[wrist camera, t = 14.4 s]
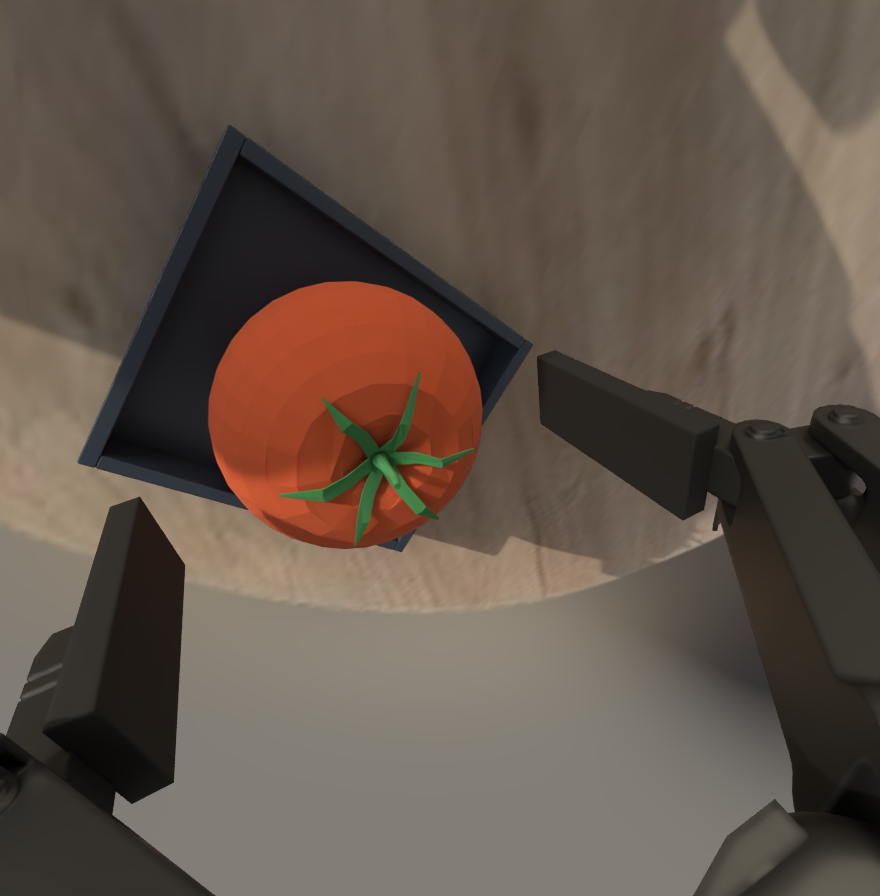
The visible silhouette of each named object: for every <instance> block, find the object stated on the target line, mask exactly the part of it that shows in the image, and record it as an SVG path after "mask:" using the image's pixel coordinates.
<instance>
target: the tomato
mask: <svg viewBox="0 0 880 896" xmlns="http://www.w3.org/2000/svg"><path fill="white" fill-rule="evenodd" d="M482 411H483V409H482V400H481V391H480V386H479V383H478V380H477V377H476V374H475V371H474V368H473V365H472V363H471V360H470V358H469V356H468V354H467V352H466V350H465V349H464V347H463V345H462V344H461V342H460V340H459V338H458V337H457V336H456V335H455V333H454V332H453V331H452V330H451V329H450V328H449V327H448V326H447V325H446V324H445V323H444V321H443V320H442V319H441V318H440V317H438V316H437V315H436V314H435V313H434V312H433V311H431V310H430V309H428V308H427V307H426V306H424V305H423V304H421V303H420V302H418V301H417V300H416V299H414V298H413V297H410V296H408V295H406V294H403V293H401V292H399V291H396V290H394V289H391V288H389V287H385V286H380V285H374V284H369V283H364V282H356V281H345V282H324V283H320V284H316V285H311V286H307V287H303V288H299V289H297V290H295V291H293V292H290V293H288V294H286V295H284V296H282V297H280V298H278V299H276V300H273V301H272V302H271V303H269V304H268V305H267V306H265V307H264V308H263V309H261V310H260V311H259V312H258V313H256V314H255V315H254V316H252V317H251V318H250V319H249V320H248V321H247V322H246V324H245V325H244V326H243V327H242V328H241V329H240V331H239V332H238V333H237V334H236V335H235V337H234V338H233V339H232V340H231V342H230V344H229V346H228V348H227V350H226V352H225V354H224V355H223V357H222V359H221V361H220V363H219V365H218V368H217V370H216V373H215V377H214V381H213V385H212V388H211V392H210V396H209V416H208V427H209V431H210V436H211V441H212V445H213V450H214V454H215V457H216V461H217V463H218V465H219V467H220V470H221V472H222V474H223V476H224V478H225V480H226V482H227V484H228V486H229V487H230V488H231V490H232V491H233V492H234V493H235V494H236V496H237V497H238V498H239V499H240V501H241V502H242V503H243V504H244V505H245V506H246V507H247V508H248V509H249V510H250V511H251V512H252V513H253V514H254V515H255V516H257V517H258V518H259V519H260V520H262V521H263V522H264V523H265V524H267V525H268V526H269V527H270V528H272V529H274V530H276V531H278V532H280V533H282V534H284V535H286V536H288V537H290V538H293V539H296V540H300V541H303V542H307V543H310V544H314V545H317V546H321V547H328V548H339V549H350V548H363V547H369V546H373V545H377V544H382V543H386V542H389V541H391V540H393V539H396V538H398V537H401V536H403V535H406V534H408V533H409V532H411V531H413V530H414V529H416V528H418V527H419V526H421V525H423V524H425V523H426V522H427V521H428V520H429V519H431V518H435V519H439V517H437V516H436V514H437V513H438V512H439V511H441V510H442V509H443V507H444V506H445V505H446V504H447V503H448V502H449V501H450V500H451V499H452V498H453V497H454V495H455V494H456V493H457V491H458V490H459V488H460V487H461V485H462V484H463V482H464V481H465V479H466V478H467V475H468V473H469V471H470V469H471V467H472V465H473V462H474V460H475V457H476V453H477V449H478V446H479V442H480V435H481V424H482Z"/></svg>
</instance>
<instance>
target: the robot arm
mask: <svg viewBox="0 0 880 896" xmlns="http://www.w3.org/2000/svg"><path fill="white" fill-rule="evenodd" d="M537 368H538V386H539V404H540V423H541V424H542V425H544V426H545V427H547V428H548V429H549V430H551V431H552V432H554V433H555V434H557V435H558V436H560V437H561V438H563V439H564V440H566V441H567V442H568V443H570V444H571V445H573V446H574V447H576V448H577V449H579V450H580V451H582V452H583V453H585V454H586V455H588V456H589V457H590V458H592V459H593V460H595V461H596V462H598V463H599V464H601V465H602V466H604V467H605V468H607V469H608V470H609V471H611V472H612V473H614V474H615V475H617V476H618V477H620V478H621V479H623V480H624V481H626V482H627V483H629V484H630V485H631V486H633V487H634V488H636V489H637V490H639V491H640V492H642V493H643V494H645V495H646V496H648V497H649V498H650V499H652V500H653V501H655V502H656V503H658V504H659V505H661V506H662V507H664V508H665V509H667V510H668V511H670V512H671V513H672V514H674V515H675V516H677V517H678V518H680V519H681V520H685V519H687V518H689V517H691V516H693V515H695V514H696V513H698V512H700V511H702V510H704V507H705V501H706V496H707V492H709V493H711V494H712V495H714V496H716V497H717V498H718V503H717V507H716V512H715V517H714V522H713V531H717V529H718V525H719V524H720V523H721V525H722V528H723V532H724V535H725V539H726V542H727V545H728V549H729V552H730V555H731V559H732V562H733V566H734V569H735V572H736V576H737V579H738V582H739V586H740V589H741V592H742V596H743V599H744V603H745V606H746V609H747V613H748V616H749V620H750V623H751V626H752V630H753V633H754V636H755V640H756V643H757V647H758V650H759V653H760V657H761V660H762V663H763V666H764V670H765V673H766V677H767V680H768V683H769V687H770V690H771V694H772V697H773V701H774V704H775V707H776V710H777V714H778V717H779V721H780V724H781V728H782V731H783V734H784V738H785V741H786V744H787V748H788V751H789V754H790V759H791V763H792V771H793V776H792V777H793V778H792V795H793V804H794V809H795V812H793V813H787V812H786V811H785V810H784V808H783V807H782V806H781V805H780V804H779V803H778V802H777V801H776V800H775V799H774V800H773V801H772V802H771V803H769V804H768V805H767V806H765V807H764V808H763V809H761V810H760V811H759V812H757V814H755V815H754V816H752V817H751V818H750V819H749V820H747V821H746V822H745V823H743V824H742V825H741V826H740V827H738V828H737V829H736V830H734V831H733V832H732V833H730V834H729V835H728V836H727V837H726V839H725V841H724V842H723V844H722V846H721V848H720V849H719V851H718V853H717V855H716V856H715V858H714V860H713V862H712V864H711V865H710V867H709V869H708V870H707V872H706V874H705V876H704V878H703V880H702V881H701V883H700V885H699V886H698V888H697V890H696V892H695V893H694V895H693V896H880V418H879V417H878V416H876V415H875V414H873V413H871V412H868V411H866V410H864V409H860V408H857V407H855V406H850V405H847V406H845V405H827V406H823V407H819V408H818V409H816V410H815V411H814V412H813V416H812V419H811V422H810V425H808V426H802V427H797V428H791V429H789V428H787V427H785V426H783V425H781V424H779V423H775V422H771V421H767V420H746V421H743V422H740V423H737V424H735V423H733V422H730V421H728V420H726V419H723V418H721V417H719V416H716V415H714V414H712V413H709V412H707V411H705V410H703V409H700V408H698V407H695V408H694V407H693V405H691V404H689V403H686V402H682V401H681V400H679V399H677V398H675V397H672V396H670V395H668V394H664V393H659V392H654V391H649V390H648V391H645V390H643V389H640V388H638V387H636V386H634V385H631V384H629V383H627V382H625V381H622V380H620V379H618V378H616V377H614V376H611V375H609V374H607V373H605V372H602V371H600V370H598V369H596V368H593V367H591V366H589V365H587V364H584V363H582V362H580V361H578V360H575V359H573V358H571V357H569V356H566V355H564V354H562V353H560V352H558V351H555V350H554V351H552V352H549V353H546V354H543V355H540V356H537ZM858 476H859V477H861V478H862V480H863V481H864V483H865V485H866V487H867V488H866V490H865V492H864V493H863V494H862V493H860V492H859V491H858V490H857V489H856V488H855V487H854V486H855V484H856V481H857V479H858ZM184 578H185V564H184V563H183V561H182V560H181V558H180V557H179V555H178V554H177V552H176V551H175V549H174V548H173V546H172V545H171V543H170V542H169V540H168V538H167V537H166V535H165V534H164V532H163V531H162V529H161V528H160V526H159V525H158V523H157V522H156V520H155V519H154V517H153V516H152V514H151V513H150V511H149V510H148V508H147V507H146V505H145V504H144V502H143V501H142V499H141V498H140V497H137V498H135V499H132V500H129V501H126V502H123V503H120V504H118V505H115V506H112V507H110V509H109V512H108V515H107V518H106V522H105V525H104V528H103V532H102V535H101V538H100V542H99V545H98V548H97V552H96V555H95V558H94V561H93V565H92V568H91V571H90V575H89V578H88V581H87V585H86V588H85V591H84V595H83V598H82V601H81V604H80V608H79V611H78V614H77V618H76V621H75V624H74V626H71V627H69V628H66V629H64V630H61V631H59V632H57V633H54V634H52V635H51V637H50V638H49V639H48V641H47V642H46V643H45V645H44V646H43V647H42V649H41V650H40V651H39V652H38V654H37V655H36V657H35V658H34V661H33V664H32V666H31V669H30V672H29V674H28V677H27V681H28V683H26V684H25V685H24V688H23V691H22V694H21V696H20V698H21V701H20V702H18V704H17V707H16V710H15V713H14V715H13V718H12V721H11V723H10V726H9V729H8V732H7V734H6V736H5V735H4V734H2V733H0V896H215V895H214V894H212V893H211V892H210V891H209V890H207V889H206V888H205V887H204V886H202V885H201V884H200V883H198V882H197V881H196V880H195V879H193V878H192V877H191V876H189V875H188V874H187V873H186V872H185V871H183V870H182V869H181V868H179V867H178V866H177V865H176V864H174V863H173V862H172V861H170V860H169V859H168V858H167V857H165V856H164V855H163V854H162V853H160V852H159V851H157V849H155V848H154V847H153V846H152V845H150V844H149V843H148V842H146V841H145V840H144V839H143V838H141V837H140V836H139V835H137V834H136V833H135V832H134V831H132V830H131V829H130V828H129V827H127V826H126V825H125V824H124V823H122V822H121V821H120V820H118V819H117V818H116V817H114V816H113V815H112V813H113V806H114V799H115V793H116V792H117V793H119V794H120V795H121V796H123V797H124V798H125V799H126V800H127V801H129V802H130V803H131V804H133V803H135V802H137V801H139V800H141V799H142V798H144V797H146V796H148V795H150V794H152V793H154V792H156V791H158V790H160V789H162V788H164V787H166V786H168V785H170V784H172V783H173V782H174V768H175V749H176V730H177V729H176V728H177V711H178V710H177V709H178V692H179V673H180V653H181V634H182V616H183V615H182V614H183V597H184Z"/></svg>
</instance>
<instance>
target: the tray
mask: <svg viewBox="0 0 880 896" xmlns="http://www.w3.org/2000/svg"><path fill="white" fill-rule="evenodd" d="M345 281H356V282H364V283H369V284H374V285H380V286H385V287H389V288H391V289H394V290H396V291H399V292H401V293H403V294H406V295H408V296H410V297H413V298H414V299H416V300H417V301H418V302H420V303H421V304H423V305H424V306H426V307H427V308H428V309H430V310H431V311H433V312H434V313H435V314H436V315H437V316H438V317H440V318H441V319H442V320H443V321H444V323H445V324H446V325H447V326H448V327H449V328H450V329H451V330H452V331H453V332H454V333H455V335H456V336H457V337H458V338H459V340H460V342H461V344H462V345H463V347H464V349H465V350H466V352H467V354H468V356H469V358H470V360H471V363H472V365H473V368H474V371H475V374H476V377H477V380H478V383H479V386H480V391H481V400H482V409H483V411H482V424H481V426H482V425H483V423H484V422H485V420H486V419H487V417H488V415H489V414H490V412H491V411H492V409H493V408H494V406H495V404H496V403H497V401H498V400H499V398H500V397H501V395H502V393H503V392H504V390H505V389H506V387H507V385H508V384H509V382H510V381H511V379H512V378H513V376H514V374H515V373H516V371H517V370H518V368H519V367H520V365H521V363H522V362H523V360H524V359H525V357H526V356H527V354H528V352H529V351H530V349H531V348H532V346H533V344H532V343H530V342H529V341H527V340H526V339H524V338H523V337H522V336H521V335H519V334H518V333H516V332H515V331H514V330H512V329H511V328H510V327H508V326H507V325H505V324H504V323H503V322H501V321H500V320H499V319H497V318H496V317H494V316H493V315H492V314H490V313H489V312H487V311H486V310H485V309H483V308H482V307H481V306H479V305H478V304H476V303H475V302H474V301H472V300H471V299H470V298H468V297H467V296H465V295H464V294H463V293H461V292H460V291H459V290H457V289H456V288H454V287H453V286H452V285H450V284H449V283H447V282H446V281H445V280H443V279H442V278H441V277H439V276H438V275H436V274H435V273H434V272H432V271H431V270H430V269H428V268H427V267H425V266H424V265H423V264H421V263H420V262H419V261H417V260H416V259H414V258H413V257H412V256H410V255H409V254H408V253H406V252H405V251H403V250H402V249H401V248H399V247H398V246H396V245H395V244H394V243H392V242H391V241H390V240H388V239H387V238H385V237H384V236H383V235H381V234H380V233H379V232H377V231H376V230H374V229H373V228H372V227H370V226H369V225H368V224H366V223H365V222H363V221H362V220H361V219H359V218H358V217H356V216H355V215H354V214H352V213H351V212H350V211H348V210H347V209H345V208H344V207H343V206H341V205H340V204H339V203H337V202H336V201H334V200H333V199H332V198H330V197H329V196H328V195H326V194H325V193H323V192H322V191H321V190H319V189H318V188H317V187H315V186H314V185H312V184H311V183H310V182H308V181H307V180H305V179H304V178H303V177H301V176H300V175H299V174H297V173H296V172H294V171H293V170H292V169H290V168H289V167H288V166H286V165H285V164H283V163H282V162H281V161H279V160H278V159H277V158H275V157H274V156H272V155H271V154H270V153H268V152H267V151H265V150H264V149H263V148H261V147H260V146H259V145H257V144H256V143H254V142H253V141H252V140H250V139H249V138H246V137H245V135H243V134H242V133H241V132H239V131H238V130H237V129H235V128H234V127H232V126H231V125H227V127H226V130H225V132H224V134H223V136H222V139H221V141H220V143H219V145H218V148H217V150H216V152H215V154H214V157H213V159H212V161H211V163H210V166H209V168H208V170H207V172H206V174H205V177H204V179H203V181H202V183H201V186H200V188H199V190H198V192H197V195H196V197H195V199H194V201H193V204H192V206H191V208H190V210H189V213H188V215H187V217H186V219H185V221H184V224H183V226H182V228H181V230H180V233H179V235H178V237H177V239H176V242H175V244H174V246H173V248H172V251H171V253H170V255H169V257H168V259H167V262H166V264H165V266H164V268H163V271H162V273H161V275H160V277H159V280H158V282H157V284H156V286H155V289H154V291H153V293H152V295H151V298H150V300H149V302H148V304H147V306H146V309H145V311H144V313H143V315H142V318H141V320H140V322H139V324H138V327H137V329H136V331H135V333H134V336H133V338H132V340H131V342H130V345H129V347H128V349H127V351H126V353H125V356H124V358H123V360H122V362H121V365H120V367H119V369H118V371H117V374H116V376H115V378H114V380H113V383H112V385H111V387H110V389H109V392H108V394H107V396H106V398H105V400H104V403H103V405H102V407H101V409H100V412H99V414H98V416H97V418H96V421H95V423H94V425H93V427H92V430H91V432H90V434H89V436H88V439H87V441H86V443H85V445H84V447H83V450H82V452H81V454H80V456H79V459H78V461H77V462H78V463H79V464H83V465H86V466H90V467H96V468H97V469H101V470H104V471H108V472H112V473H115V474H119V475H123V476H126V477H130V478H134V479H137V480H141V481H145V482H148V483H152V484H155V485H159V486H163V487H166V488H170V489H174V490H177V491H181V492H185V493H188V494H192V495H195V496H199V497H203V498H206V499H210V500H214V501H217V502H221V503H225V504H228V505H232V506H236V507H239V508H243V509H246V510H249V509H248V508H247V507H246V506H245V505H244V504H243V503H242V502H241V501H240V499H239V498H238V497H237V496H236V494H235V493H234V492H233V491H232V490H231V488H230V487H229V486H228V484H227V482H226V480H225V478H224V476H223V474H222V472H221V470H220V467H219V465H218V463H217V461H216V457H215V454H214V450H213V445H212V441H211V436H210V431H209V427H208V416H209V396H210V392H211V388H212V385H213V381H214V377H215V373H216V370H217V368H218V365H219V363H220V361H221V359H222V357H223V355H224V354H225V352H226V350H227V348H228V346H229V344H230V342H231V340H232V339H233V338H234V337H235V335H236V334H237V333H238V332H239V331H240V329H241V328H242V327H243V326H244V325H245V324H246V322H247V321H248V320H249V319H250V318H251V317H252V316H254V315H255V314H256V313H258V312H259V311H260V310H261V309H263V308H264V307H265V306H267V305H268V304H269V303H271V302H272V301H273V300H276V299H278V298H280V297H282V296H284V295H286V294H288V293H290V292H293V291H295V290H297V289H299V288H303V287H307V286H311V285H316V284H320V283H324V282H345ZM416 529H417V528H416ZM416 529H414V530H413V531H411V532H409V533H408V534H406V535H403V536H401V537H398V538H396V539H393V540H391V541H389V542H386V543H382V544H377V545H378V546H381V547H385V548H388V549H393V550H396V551H399V552H402V551H403V549H404V548H405V546H406V545H407V543H408V541H409V540H410V538H411V537H412V535H413V534H414V532H415V530H416Z"/></svg>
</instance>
